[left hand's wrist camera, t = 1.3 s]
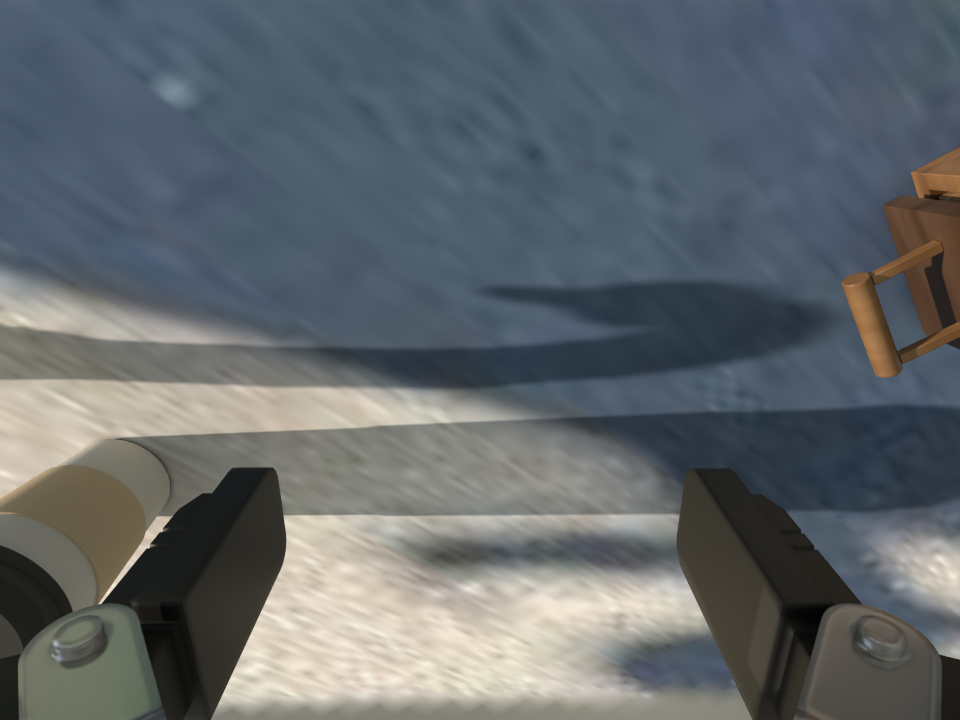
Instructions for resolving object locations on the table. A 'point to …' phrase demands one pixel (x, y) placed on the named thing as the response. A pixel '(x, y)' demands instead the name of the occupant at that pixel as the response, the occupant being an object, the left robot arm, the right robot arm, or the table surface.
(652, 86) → the table surface
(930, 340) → the drawer
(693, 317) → the table surface
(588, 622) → the table surface
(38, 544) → the coffee cup
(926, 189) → the open wooden crate
